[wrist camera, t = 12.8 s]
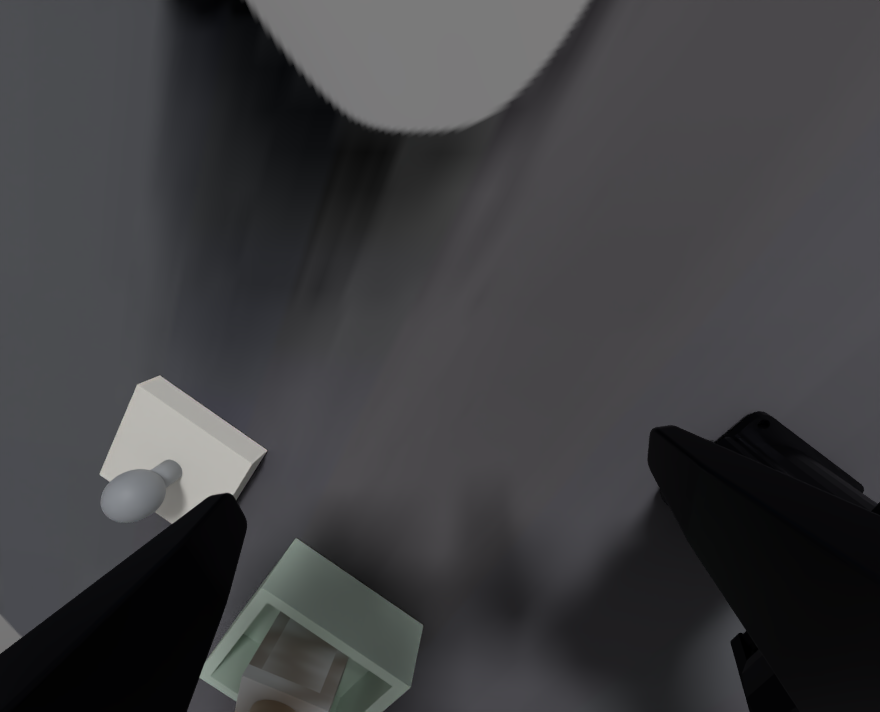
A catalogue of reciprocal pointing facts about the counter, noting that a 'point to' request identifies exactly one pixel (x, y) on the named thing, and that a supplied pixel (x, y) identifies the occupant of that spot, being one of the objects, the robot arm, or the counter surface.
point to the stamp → (291, 671)
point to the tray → (325, 631)
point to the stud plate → (172, 456)
